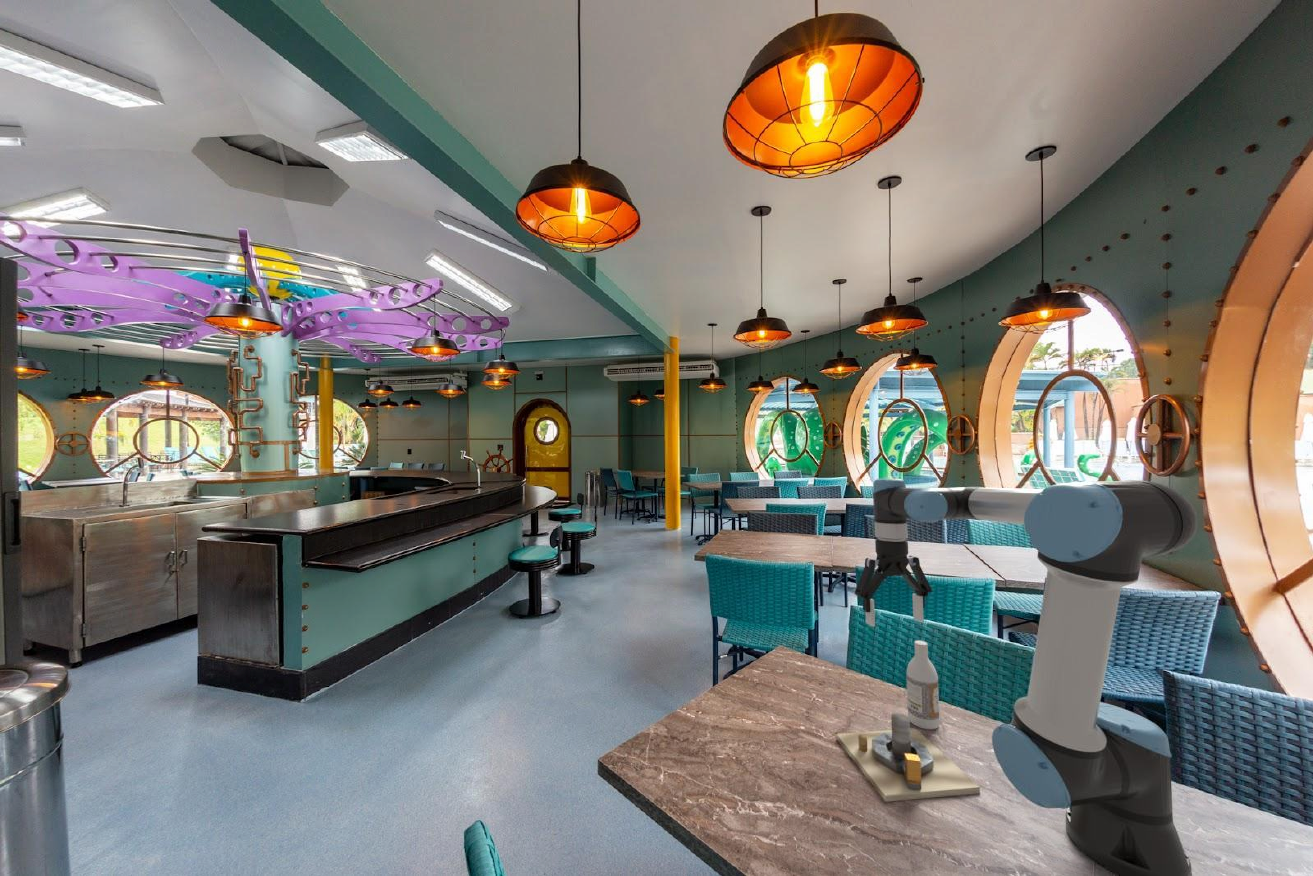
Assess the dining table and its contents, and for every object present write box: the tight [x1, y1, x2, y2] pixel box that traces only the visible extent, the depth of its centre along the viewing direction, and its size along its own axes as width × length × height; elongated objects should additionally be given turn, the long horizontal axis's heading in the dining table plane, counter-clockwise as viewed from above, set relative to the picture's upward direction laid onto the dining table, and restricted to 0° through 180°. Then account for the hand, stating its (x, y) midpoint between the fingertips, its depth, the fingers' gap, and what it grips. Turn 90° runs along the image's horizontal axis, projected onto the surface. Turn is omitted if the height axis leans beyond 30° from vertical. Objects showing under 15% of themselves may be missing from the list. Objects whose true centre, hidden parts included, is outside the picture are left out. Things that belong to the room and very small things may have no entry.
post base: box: [836, 712, 981, 803], centre depth 102 cm, size 20×20×10 cm
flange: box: [872, 733, 934, 790], centre depth 100 cm, size 16×11×6 cm
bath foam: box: [906, 640, 940, 730], centre depth 118 cm, size 7×7×20 cm
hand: (894, 622), depth 118 cm, fingers open, 13 cm apart
